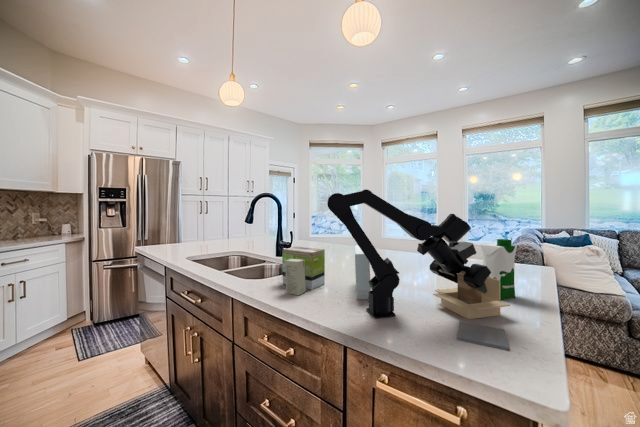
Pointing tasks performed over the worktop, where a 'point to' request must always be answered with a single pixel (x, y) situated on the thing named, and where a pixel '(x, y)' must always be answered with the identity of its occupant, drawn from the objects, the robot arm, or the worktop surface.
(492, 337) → the slate coaster
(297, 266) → the skincare box
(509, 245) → the milk carton
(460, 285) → the walnut box
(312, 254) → the tea box
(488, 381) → the worktop surface
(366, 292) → the skincare box
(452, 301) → the cardboard carton
